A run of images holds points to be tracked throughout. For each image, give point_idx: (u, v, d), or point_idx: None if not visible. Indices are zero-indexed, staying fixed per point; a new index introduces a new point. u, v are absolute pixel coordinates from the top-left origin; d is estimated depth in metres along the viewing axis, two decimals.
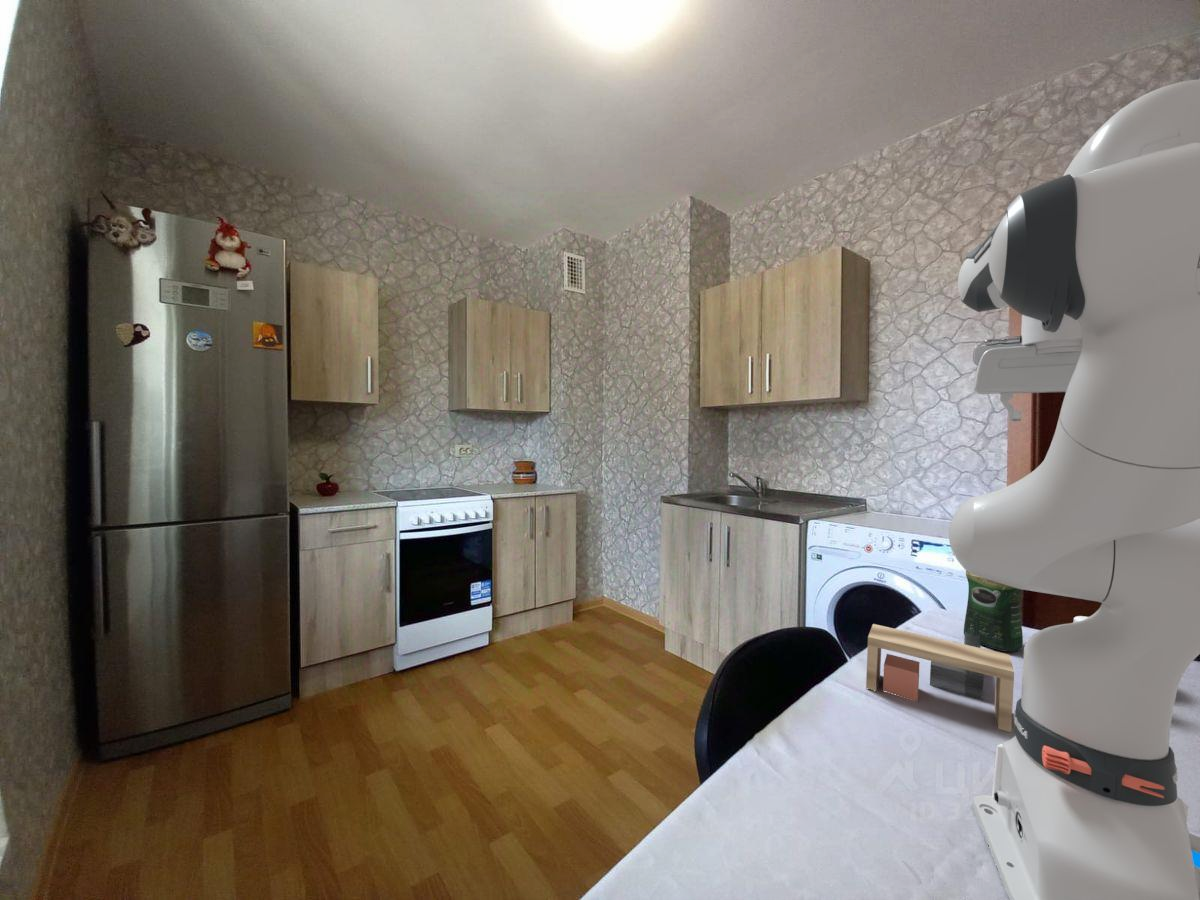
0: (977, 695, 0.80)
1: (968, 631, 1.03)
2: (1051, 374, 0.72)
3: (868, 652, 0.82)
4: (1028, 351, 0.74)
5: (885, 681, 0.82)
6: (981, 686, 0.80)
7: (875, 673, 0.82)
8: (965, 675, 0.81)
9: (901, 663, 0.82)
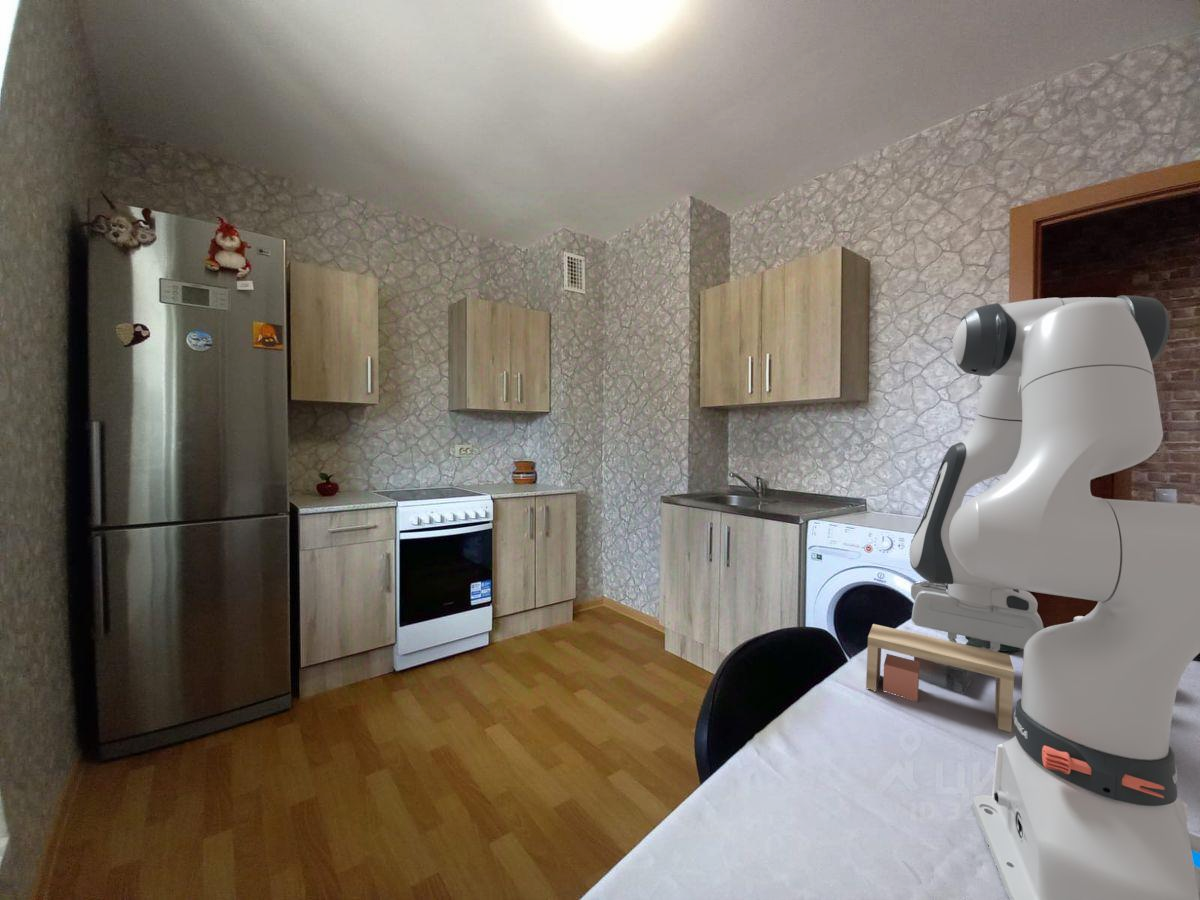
0: (957, 688, 0.82)
1: None
2: (969, 624, 0.90)
3: (868, 652, 0.82)
4: (951, 601, 0.91)
5: (885, 681, 0.82)
6: (961, 680, 0.82)
7: (875, 673, 0.82)
8: (946, 668, 0.83)
9: (901, 663, 0.82)
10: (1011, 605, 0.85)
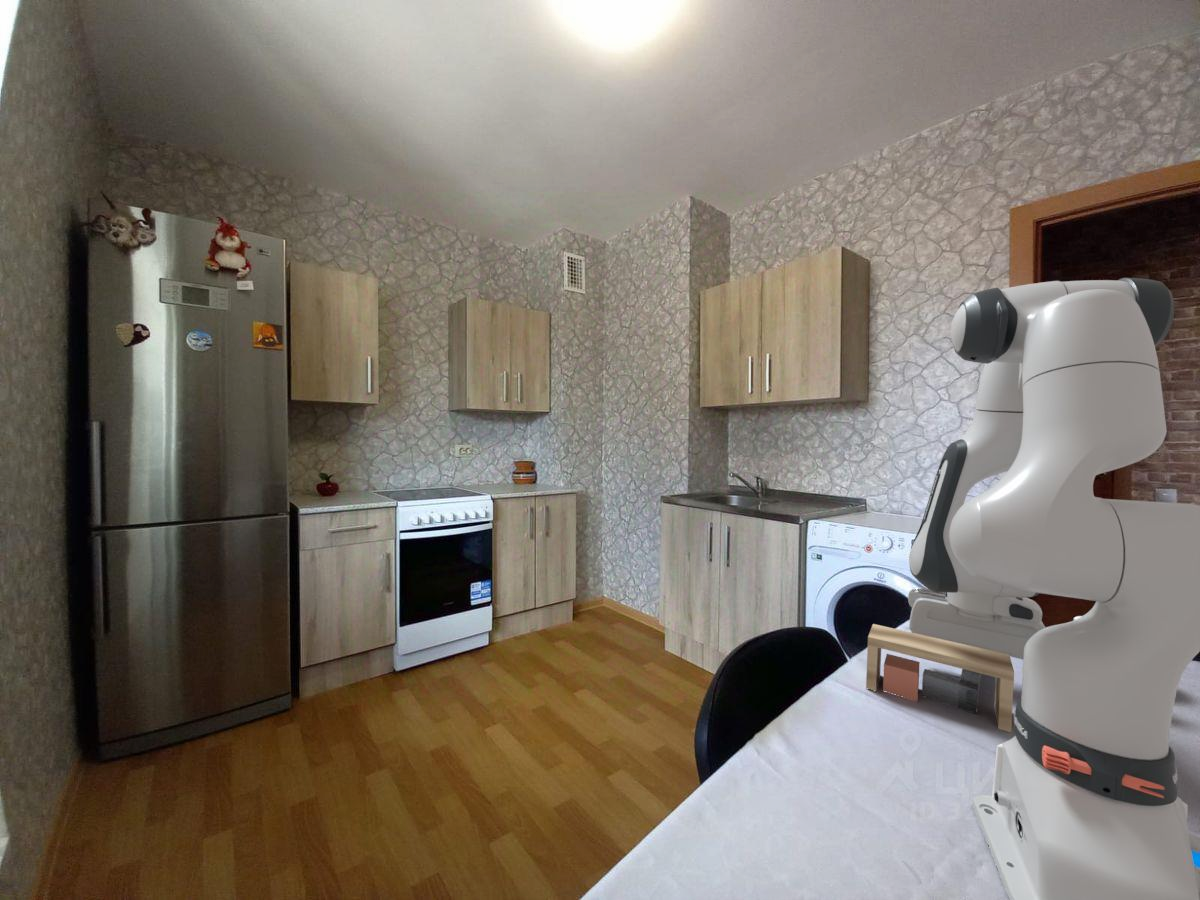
0: (971, 707, 0.76)
1: None
2: (969, 634, 0.85)
3: (868, 652, 0.82)
4: (951, 609, 0.87)
5: (885, 681, 0.82)
6: (975, 699, 0.76)
7: (875, 673, 0.82)
8: (958, 686, 0.77)
9: (901, 663, 0.82)
10: (1014, 614, 0.80)
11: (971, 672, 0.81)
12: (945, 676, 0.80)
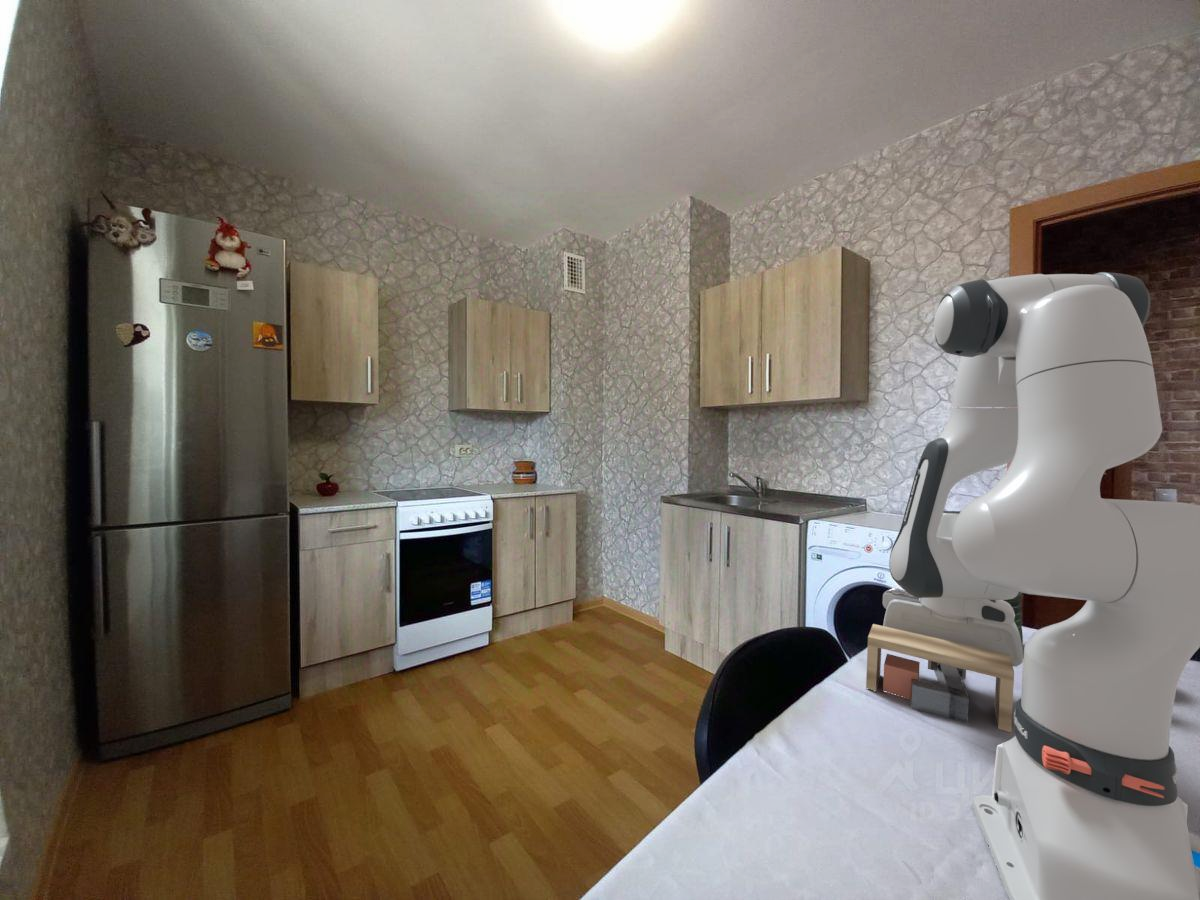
0: (962, 716, 0.74)
1: None
2: (942, 636, 0.84)
3: (868, 652, 0.82)
4: (924, 611, 0.85)
5: (885, 681, 0.82)
6: (966, 707, 0.74)
7: (875, 673, 0.82)
8: (949, 695, 0.75)
9: (901, 663, 0.82)
10: (986, 616, 0.79)
11: (953, 677, 0.80)
12: (933, 685, 0.77)
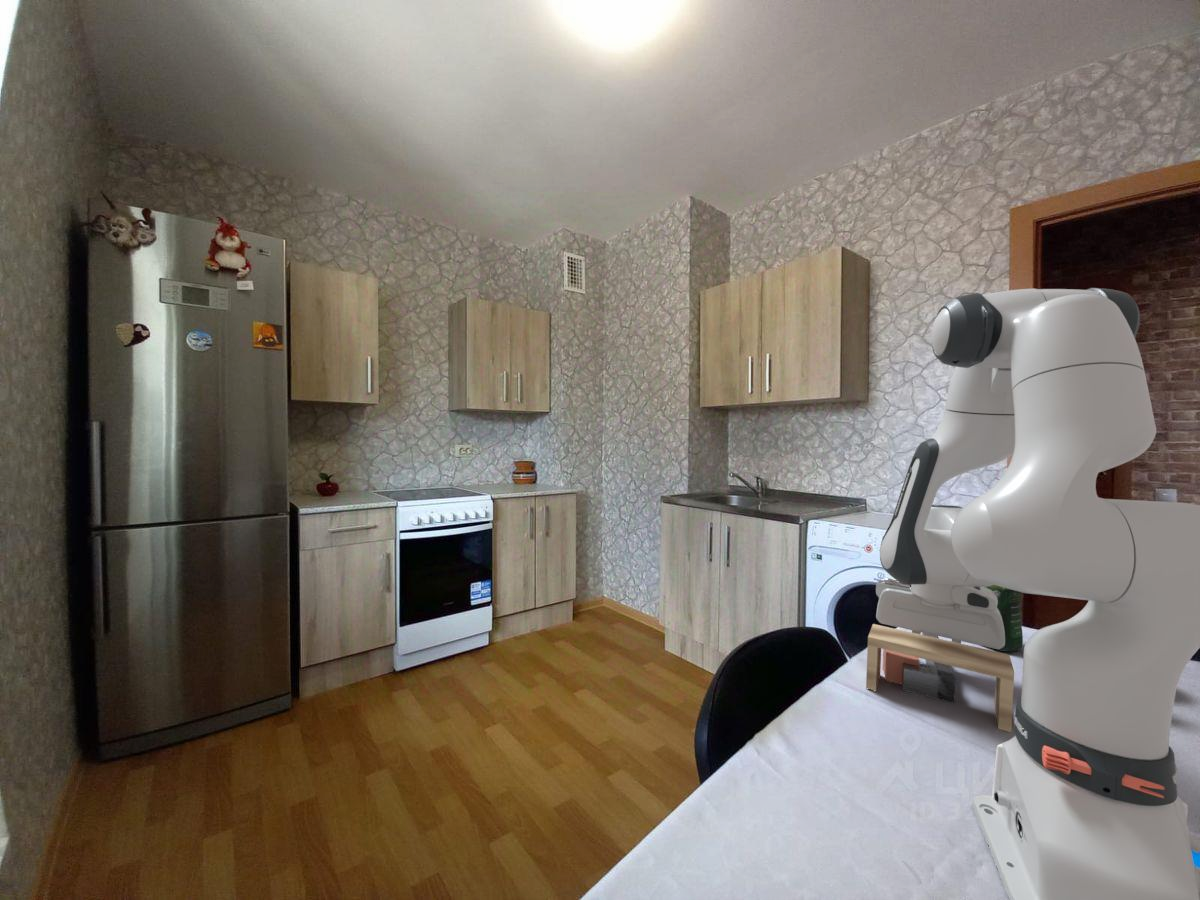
0: (949, 697, 0.79)
1: None
2: (931, 622, 0.90)
3: (868, 652, 0.82)
4: (914, 599, 0.91)
5: (888, 670, 0.85)
6: (953, 688, 0.79)
7: (875, 673, 0.82)
8: (938, 677, 0.80)
9: None
10: (971, 602, 0.85)
11: None
12: (923, 668, 0.82)
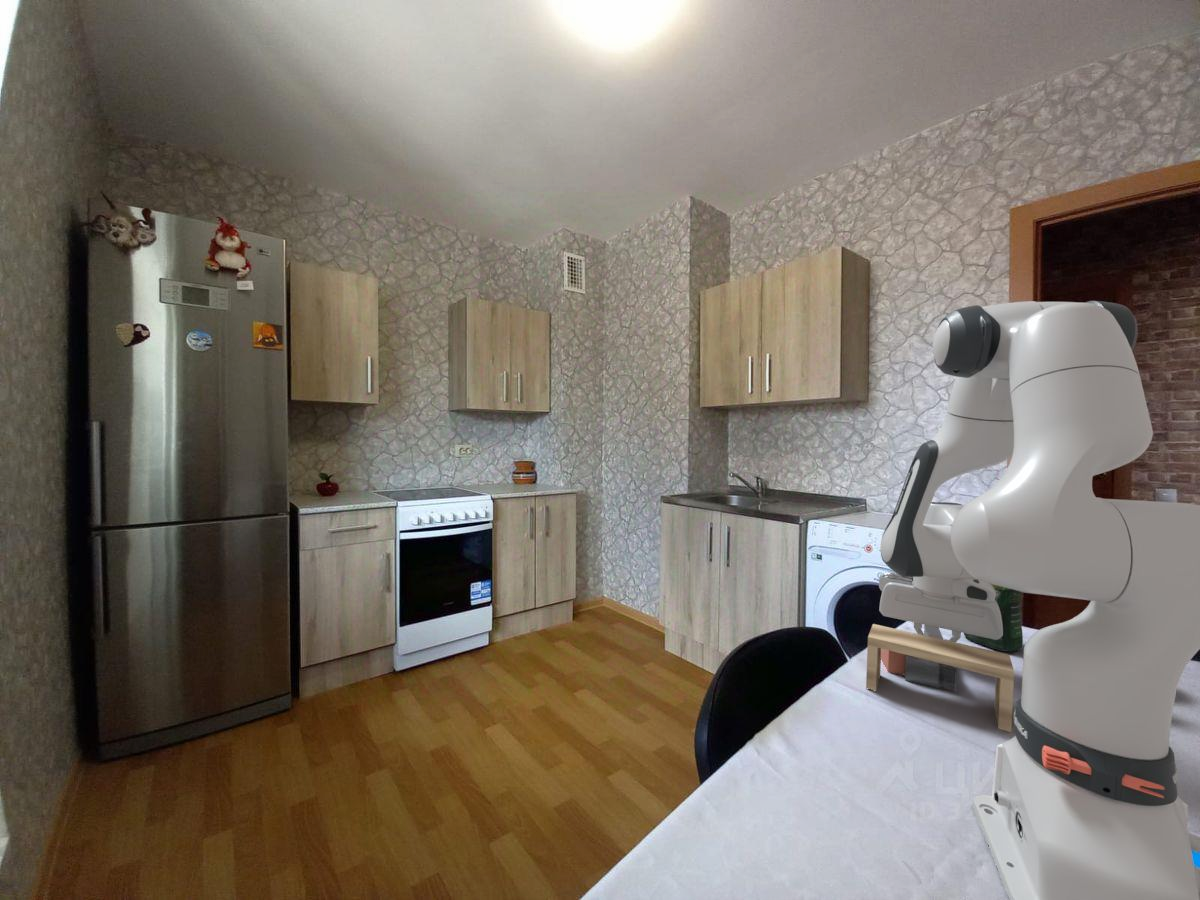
0: (950, 686, 0.83)
1: None
2: (932, 614, 0.94)
3: (868, 652, 0.82)
4: (916, 592, 0.95)
5: (890, 662, 0.89)
6: (954, 678, 0.82)
7: (875, 673, 0.82)
8: (939, 667, 0.83)
9: None
10: (971, 595, 0.89)
11: None
12: (924, 659, 0.86)
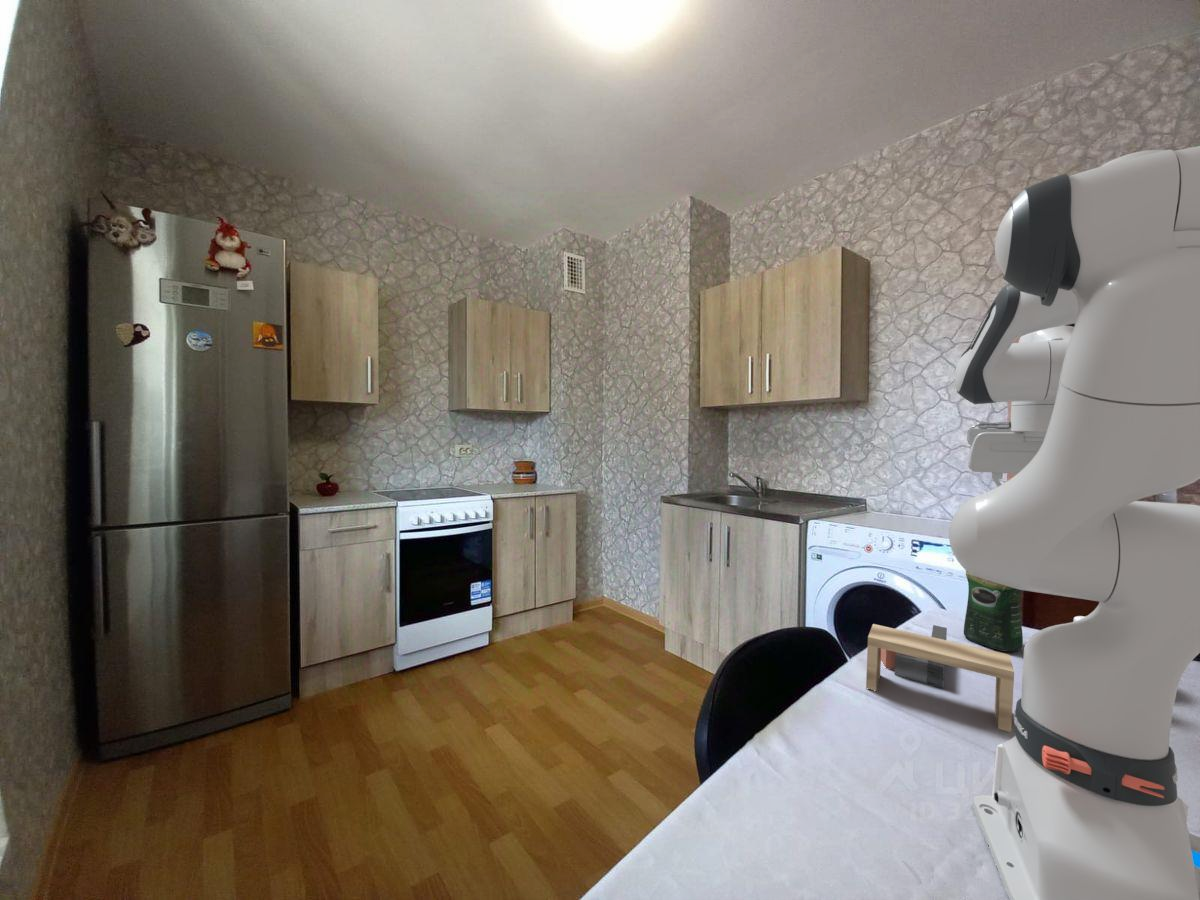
0: (938, 683, 0.84)
1: (968, 631, 1.03)
2: None
3: (868, 652, 0.82)
4: (1016, 437, 0.82)
5: (887, 658, 0.90)
6: (942, 675, 0.83)
7: (875, 673, 0.82)
8: (927, 664, 0.85)
9: None
10: None
11: None
12: None
